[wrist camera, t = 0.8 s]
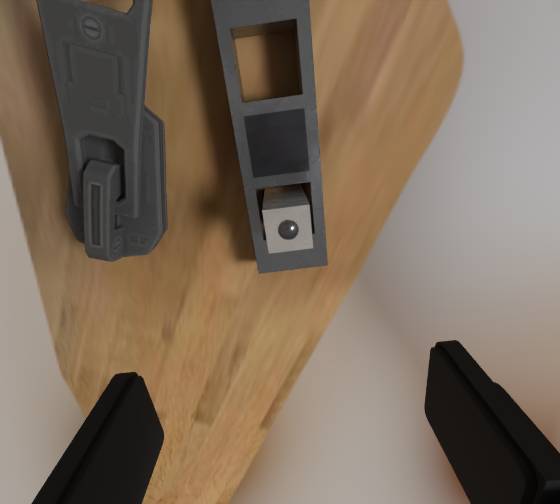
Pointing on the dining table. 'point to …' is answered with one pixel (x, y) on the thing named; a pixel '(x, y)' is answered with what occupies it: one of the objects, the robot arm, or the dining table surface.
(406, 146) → the dining table surface
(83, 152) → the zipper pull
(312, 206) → the rail
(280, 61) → the dining table surface
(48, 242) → the dining table surface
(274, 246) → the grey tall square block
